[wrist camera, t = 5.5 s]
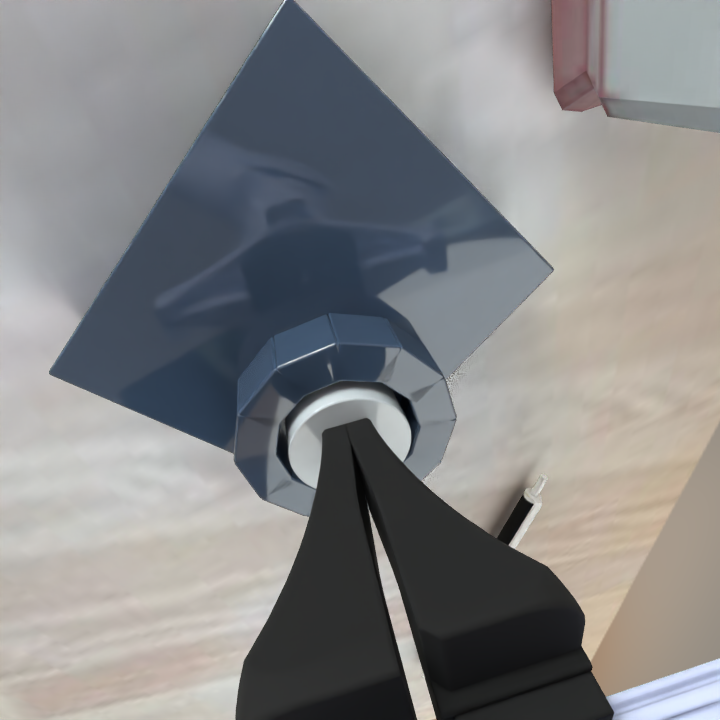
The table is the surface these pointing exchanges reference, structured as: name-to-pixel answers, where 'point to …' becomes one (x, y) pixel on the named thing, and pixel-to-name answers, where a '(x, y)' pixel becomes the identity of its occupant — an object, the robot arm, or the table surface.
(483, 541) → the robot arm
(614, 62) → the bottle
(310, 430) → the white short cylinder
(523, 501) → the pen
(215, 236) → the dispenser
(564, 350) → the table surface
